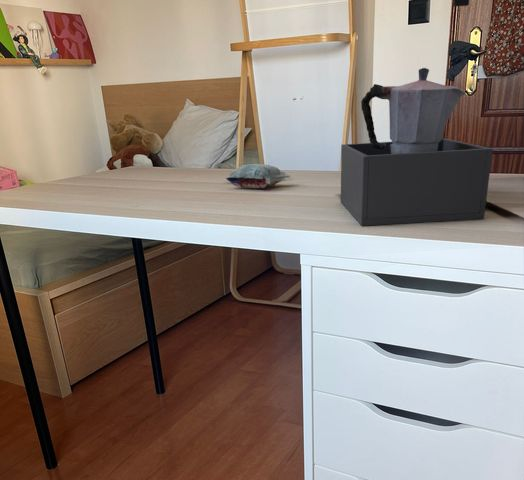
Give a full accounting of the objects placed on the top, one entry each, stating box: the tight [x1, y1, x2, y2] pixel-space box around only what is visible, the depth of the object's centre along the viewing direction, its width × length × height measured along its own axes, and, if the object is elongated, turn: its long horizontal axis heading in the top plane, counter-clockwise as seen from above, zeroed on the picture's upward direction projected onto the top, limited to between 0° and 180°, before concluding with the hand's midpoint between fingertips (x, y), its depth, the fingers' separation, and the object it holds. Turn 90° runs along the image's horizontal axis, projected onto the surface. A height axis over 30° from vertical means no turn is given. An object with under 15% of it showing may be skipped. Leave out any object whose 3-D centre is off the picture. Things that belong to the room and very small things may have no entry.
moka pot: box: [360, 67, 466, 154], centre depth 84 cm, size 10×15×20 cm, turn 80°
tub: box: [340, 138, 494, 227], centre depth 86 cm, size 19×20×10 cm
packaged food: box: [225, 163, 291, 189], centre depth 117 cm, size 9×12×5 cm
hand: (474, 0), depth 93 cm, fingers open, 13 cm apart
